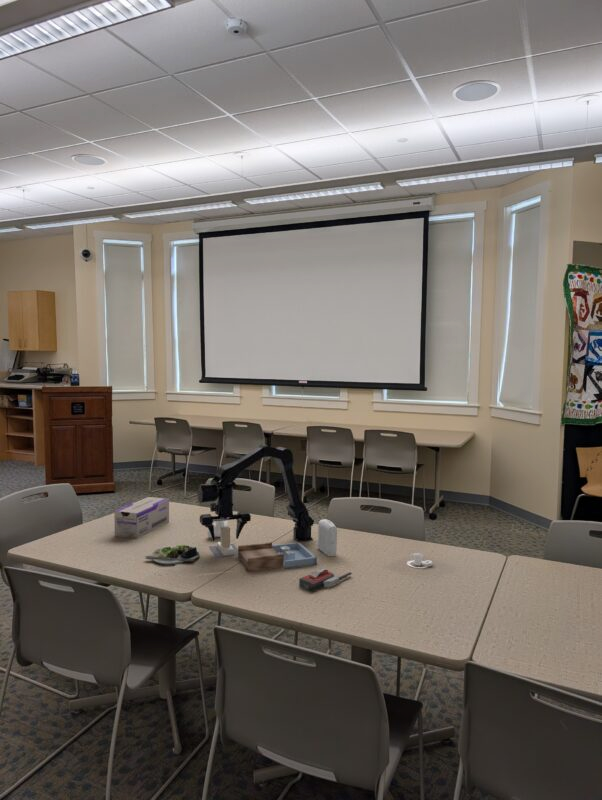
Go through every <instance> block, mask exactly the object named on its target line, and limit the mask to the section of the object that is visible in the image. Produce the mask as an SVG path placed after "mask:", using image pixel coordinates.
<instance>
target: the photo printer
mask: <svg viewBox="0 0 602 800" xmlns="http://www.w3.org/2000/svg"><path fill="white" fill-rule="evenodd" d="M317 525H318V529H317V533H318V535H317V548H318V550H320V552H322V553H324V554H325V555H326V556H328V557H334V556H336V555H337V550H338V549H337V548H338V547H337V546H338V545H337V544H338V540H337V539H338V529H337V526H336V525H335V524H334V522H332V521H331V520H330V519H326V518H325V519H320V520H319V522H318V524H317Z"/></svg>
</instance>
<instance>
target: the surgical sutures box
mask: <svg viewBox="0 0 602 800" xmlns="http://www.w3.org/2000/svg"><path fill="white" fill-rule="evenodd" d="M167 522H168V523H169V522H170V498H164V497H155V496H154V497H152V496H151V497H150V496H147V497H145V498H143V499H140V500H137V501H135V502H132V503H130V504H128V505H125V506H123V507H119V508H118V509H116V510H114V536H116V537H123V538H131V539H139V538H141V537H143V536H145V535H147V534H148V533H150V532H153V531H154V530H156V529H158V528H160V527H162V526H163V524H164V525H166V524H167ZM165 523H166V524H165Z"/></svg>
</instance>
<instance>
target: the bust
mask: <svg viewBox="0 0 602 800" xmlns="http://www.w3.org/2000/svg"><path fill="white" fill-rule="evenodd" d="M215 516H218V515H216V514H215ZM213 525H214V538H221V527H225V526H229V525H230V524H229V523H228V520H223V521H214V522H213ZM229 527H230V526H229ZM207 529H208V528H207ZM206 535H207V537H208V539H212V537H211V534H210V531H209V529H208V530H207V533H206Z"/></svg>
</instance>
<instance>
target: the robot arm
mask: <svg viewBox="0 0 602 800" xmlns="http://www.w3.org/2000/svg"><path fill="white" fill-rule="evenodd" d="M267 456H268V457H272V458H273V459H274V461H275V463H276V465H277V466H278V468H279V469H280V471H281V476H282V479H283V482H284V483H283V484H284V485H285V490H286V492H287V493H286V494H287V496H288V500H289V503H288V505H286V506H285V509H286V510H287V515H288V516H289V517H290V518H291V519H292V522H293V523H294V527H293V531H292V532H293V535H292V537H293V538H294V539H295V540H296V541H297V542H303V541H305V542H306V541H311V540H313V537H312V526H314V523H315V520H314V519H313V518H312V517H311V515H310V513H309V511H308V508H307V507H306V505H305V504H304V502H303V500H302V499H301V496H300V492H299V488H298V484H297V480H296V477H295V472H294V469H293V467H294V453H293V451H292V449H289V448H287V447H283V446H277V447H273V446H270V445H267V444H264V443H262V444H260V445H259V446H258V447H256V448H254V449H253V450H251V451H250V452H248V453H247V454H245V455H244V456H242V457H240V458H239V459H237V460H236V461H234V462H229V463H226V464H224V465H221V466H219V467H218V468H217V469H216V471H215V475H214V476H213V478H212V479H211V481H210V482H209V483H207V484H205V483H200V484H199V487H198V489H197V492H196V495H197V500H198V503H200V504H204V503H210V504H209V505H210V507H209V508H210V512H211V513H213V512H214V513H215V516H214V515H213V516H212V515H211V513H206V514H200V515H199V523H200V524H201V525H202V526H204V527H205V528H207V529H209V531H210V534H211V537H212V538H211V541H212V542H215V537H214V522H216V521H223V520H226V521H231V520H234V521H235V520H236V529H235V539H236V540H238V539H239V537H240V534H241V532H242V530H243V528H244V526H245V525H246V524H248V522H251V519H252V518H251V514H250V513H249V512H248V511H247V510H240V511H239V510H238V511H237V513H236V514H235V513H234V489H237V488H239V485H238V484H237V483H236V482H235V480H236V479H238V478H239V476H240V475H241V473H242V472H244V470H246V469H249V467H251V466H253V465H254V464H256V463H257V462H259V461H261V460H262V459H263V458H265V457H267ZM216 501H217V503H216ZM216 515H218V516H216Z"/></svg>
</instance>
